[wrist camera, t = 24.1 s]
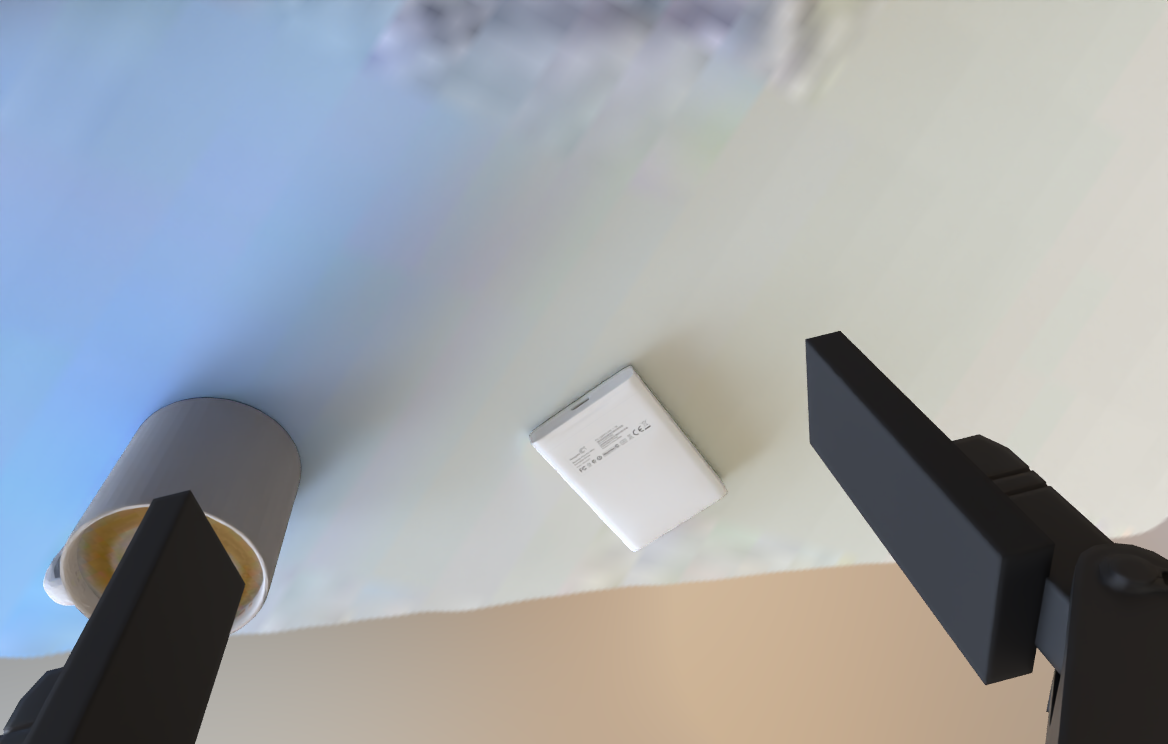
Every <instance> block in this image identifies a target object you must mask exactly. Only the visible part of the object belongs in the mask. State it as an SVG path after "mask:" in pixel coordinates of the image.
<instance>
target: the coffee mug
mask: <svg viewBox="0 0 1168 744" xmlns="http://www.w3.org/2000/svg"><path fill="white" fill-rule="evenodd" d="M300 478H301V462H300V456H299V454H298V451H297V448H296V446H295V444H294V442H293V441H292V439H291V438H290V436H289V435H288V434H287V432H286V431H285V430H284V429H283V428H282V427H281V426H280V425H279V424H278V423H277V422H276V421H274V420H273V419H272V418H270V417H269V416H267V415H266V414H264V413H262V412H261V411H259V410H257V409H255V408H253V407H251V406H248V405H245V404H242V403H239V402H235V401H232V400H226V399H218V398H195V399H188V400H183V401H179V402H175V403H173V404H170V405H168V406H166V407H163V408H161V409H159V410H158V411H156V412H155V413H153V414H152V415H151V416H150V417H149V418H148V419H146V420H145V421H144V422H143V424H142V425H141V426H140V428H139V429H138V431H137V432H136V434H135V435H134V437H133V438H132V440H131V441H130V443H129V445H128V446H127V448H126V449H125V451H124V452H123V454H122V455H121V457H120V458H119V460H118V462H117V463H116V465H115V466H114V468H113V469H112V471H111V472H110V474H109V476H108V477H107V479H106V480H105V482H104V483H103V485H102V486H101V488H100V490H99V491H98V493H97V494H96V496H95V497H94V499H93V500H92V502H91V504H90V505H89V507H88V508H87V510H86V511H85V513H84V514H83V516H82V518H81V519H80V521H79V522H78V524H77V525H76V527H75V528H74V530H73V532H72V533H71V535H70V536H69V538H68V540H67V542H66V544H65V546H64V547H63V548H62V549H61V550H60V552H59V553H58V554H57V555H56V556H55V558H54V559H53V561H52V562H51V564H50V566H49V568H48V569H47V571H46V574H45V578H44V581H43V585H44V589H45V591H46V593H47V594H48V595H49V597H50V598H51V599H53V600H54V601H55V602H56V603H58V604H61V605H64V606H72V605H75V607H76V608H77V609H78V610H79V611H80V612H81V613H82V614H84V615H85V616H86V617H87V618H88V619H89V618H90V617H91V615H92V613H93V611H94V609H95V607H96V605H97V603H98V602H99V600H100V598H101V596H102V594H103V592H104V590H105V588H106V587H107V585H108V583H109V581H110V579H111V577H112V575H113V573H114V572H115V570H116V568H117V566H118V564H119V562H120V560H121V558H122V557H123V555H124V553H125V551H126V549H127V547H128V545H129V543H130V542H131V540H132V538H133V536H134V534H135V532H136V530H137V528H138V527H139V525H140V523H141V521H142V519H143V517H144V515H145V513H146V512H147V510H148V508H149V506H150V504H151V502H152V500H153V499H155V498H159V497H163V496H167V495H171V494H175V493H179V492H183V491H188V490H191V492H192V493H193V495H194V497H195V498H196V500H197V502H198V504H199V505H200V507H201V509H202V510H203V512H204V514H205V516H206V517H207V519H208V521H209V522H210V524H211V526H212V528H213V529H214V531H215V533H216V534H217V536H218V538H219V540H220V541H221V543H222V545H223V546H224V548H225V550H226V552H227V553H228V555H229V557H230V558H231V560H232V562H233V563H234V565H235V567H236V569H237V570H238V572H239V574H240V575H241V577H242V579H243V581H244V582H245V584H246V585H245V588H244V591H243V594H242V597H241V600H240V603H239V607H238V610H237V613H236V616H235V619H234V622H233V625H232V629H231V632H230V634H232V633H234V632H236V631H238V630H239V629H241V628H242V627H244V626H245V625H246V624H247V623H248V622H250V621H251V620H252V619H253V618H254V617H255V616H256V614H257V613H258V612H259V611H260V609H261V608H262V606H263V604H264V602H265V600H266V598H267V595H268V592H269V589H270V585H271V582H272V578H273V575H274V571H275V568H276V564H277V560H278V557H279V553H280V550H281V546H282V543H283V539H284V536H285V532H286V529H287V525H288V521H289V518H290V514H291V511H292V507H293V504H294V500H295V497H296V493H297V489H298V486H299V482H300Z"/></svg>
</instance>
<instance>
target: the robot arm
mask: <svg viewBox="0 0 1168 744" xmlns="http://www.w3.org/2000/svg"><path fill="white" fill-rule="evenodd" d="M805 341H806V364H807V388H808V411H809V434H810V444H811V445H812V447H813V448H814V449H815V451H816V452H817V454H818V455H819V456H820V458H821V459H822V460H823V462H824V463H825V465H826V466H827V467H828V469H829V470H830V472H831V473H832V474H833V476H834V477H835V478H836V480H837V481H838V483H839V484H840V485H841V487H842V488H843V489H844V491H845V492H846V494H847V495H848V496H849V498H850V499H851V500H852V502H853V503H854V505H855V506H856V507H857V509H858V510H859V512H860V513H861V514H862V516H863V517H864V518H865V520H866V521H867V523H868V524H869V525H870V527H871V528H872V529H873V531H874V532H875V534H876V535H877V536H878V538H879V539H880V541H881V542H882V543H883V545H884V546H885V547H886V549H887V550H888V552H889V553H890V554H891V556H892V557H893V558H894V560H895V561H896V563H897V564H898V565H899V567H900V568H901V570H902V571H903V572H904V574H905V575H906V576H907V578H908V579H909V580H910V582H911V583H912V585H913V586H914V587H915V589H916V590H917V592H918V593H919V594H920V596H921V597H922V599H923V600H924V601H925V603H926V604H927V605H928V607H929V608H930V610H931V611H932V612H933V614H934V615H935V616H936V618H937V619H938V621H939V622H940V623H941V625H942V626H943V628H944V629H945V630H946V632H947V633H948V634H949V636H950V637H951V638H952V640H953V641H954V643H955V644H956V645H957V647H958V648H959V650H960V651H961V652H962V653H963V655H964V657H966V659H967V660H968V662H969V663H970V665H971V666H972V668H973V669H974V670H975V671H976V673H977V674H978V676H979V677H980V678H981V680H982V681H983V683H984V684H985V685H988V684H992V683H996V682H999V681H1003V680H1006V679H1011V678H1014V677H1018V676H1022V675H1026V674H1029V673H1032V671H1033V665H1034V660H1035V654H1036V648H1038V649H1039V650H1040V651H1041V652H1042V654H1043V655H1044V656H1045V657H1046V659H1047V660H1048V661H1049V662H1050V663H1051V664H1052V666H1053V667H1054V668H1055V671H1054V676H1053V681H1052V686H1051V691H1050V696H1049V701H1048V706H1047V711H1046V712H1049V716H1048V726H1047V734H1046V743H1045V744H1168V560H1167V559H1165V558H1164V557H1162V556H1160V555H1159V554H1157V553H1155V552H1153V551H1150V550H1147V549H1144V548H1141V547H1137V546H1134V545H1128V544H1118V543H1114V542H1112V541H1111V540H1110V539H1109V538H1108V537H1107V536H1106V535H1104V534H1103V533H1102V532H1101V531H1100V530H1099V529H1098V528H1097V527H1096V526H1094V525H1093V524H1092V523H1091V522H1090V521H1089V520H1088V519H1087V518H1086V517H1084V516H1083V515H1082V514H1081V513H1080V512H1079V511H1078V510H1077V509H1076V508H1074V507H1073V506H1072V505H1071V504H1070V503H1069V502H1068V501H1067V500H1066V499H1064V498H1063V497H1062V496H1061V495H1060V494H1059V493H1058V492H1057V491H1056V490H1054V489H1053V488H1052V487H1051V486H1047V485H1046V481H1044V480H1043V479H1042V478H1041V477H1040V476H1039V475H1038V474H1037V473H1036V472H1034V471H1033V470H1032V471H1030V469H1029V466H1028V465H1027V464H1026V463H1024V462H1023V461H1022V460H1021V459H1020V458H1019V457H1018V456H1017V455H1016V454H1014V453H1013V452H1012V451H1011V450H1010V449H1009V448H1007V447H1005V446H1003V445H1001V444H999V443H997V442H994V441H992V440H990V439H988V438H986V437H984V436H982V435H975V436H971V437H967V438H963V439H959V440H955V441H951V440H950V439H949V438H948V437H947V436H946V435H945V434H944V433H943V432H942V431H941V430H940V429H939V428H938V427H937V426H936V425H935V424H934V423H933V422H932V421H931V420H930V419H929V418H928V417H927V416H926V415H925V414H924V413H923V412H922V411H921V410H920V409H919V408H918V407H917V406H916V405H915V404H914V403H913V402H912V401H911V400H910V399H909V398H908V397H907V396H906V395H904V394H903V393H902V392H901V391H900V390H899V389H898V388H897V387H896V386H895V385H894V384H893V383H892V382H891V381H890V380H889V379H888V378H887V377H886V376H885V375H884V374H883V373H882V372H881V371H880V370H879V369H878V368H877V367H876V366H875V365H874V364H873V363H872V362H871V361H870V360H869V359H868V358H867V357H866V356H865V355H864V354H863V353H862V352H861V351H860V350H859V349H858V348H857V347H856V346H855V345H854V344H853V343H852V342H851V341H850V340H849V339H848V338H847V337H846V336H845V335H844V334H843V333H842V332H841V331H838V332H834V333H829V334H825V335H821V336H817V337H813V338H809V339H805ZM245 585H246V584H245V582H244V581H243V579H242V577H241V575H240V574H239V572H238V570H237V569H236V567H235V565H234V563H233V562H232V560H231V558H230V557H229V555H228V553H227V552H226V550H225V548H224V546H223V545H222V543H221V541H220V540H219V538H218V536H217V534H216V533H215V531H214V529H213V528H212V526H211V524H210V522H209V521H208V519H207V517H206V516H205V514H204V512H203V510H202V509H201V507H200V505H199V504H198V502H197V500H196V498H195V497H194V495H193V493H192V492H191V490H188V491H183V492H179V493H175V494H171V495H167V496H163V497H159V498H155V499H153V500H152V502H151V504H150V506H149V508H148V510H147V512H146V513H145V515H144V517H143V519H142V521H141V523H140V525H139V527H138V528H137V530H136V532H135V534H134V536H133V538H132V540H131V542H130V543H129V545H128V547H127V549H126V551H125V553H124V555H123V557H122V558H121V560H120V562H119V564H118V566H117V568H116V570H115V572H114V573H113V575H112V577H111V579H110V581H109V583H108V585H107V587H106V588H105V590H104V592H103V594H102V596H101V598H100V600H99V602H98V603H97V605H96V607H95V609H94V611H93V613H92V615H91V617H90V618H89V620H88V622H87V624H86V626H85V628H84V630H83V631H82V633H81V635H80V637H79V639H78V641H77V643H76V645H75V646H74V648H73V650H72V652H71V654H70V656H69V658H68V660H67V662H66V664H65V665H64V667H62V668H58V669H54V670H50V671H47V672H46V673H45V674H44V675H43V676H42V677H41V678H40V679H39V680H38V681H37V683H35V685H34V686H33V687H32V688H31V689H30V690H29V691H28V692H27V693H26V694H25V695H24V696H23V698H22V699H21V700H20V701H19V703H18V705H17V706H16V708H15V710H14V712H13V714H12V715H11V717H10V719H9V721H8V722H7V724H6V726H5V728H4V735H0V744H195V741H196V739H197V735H198V732H199V729H200V726H201V723H202V720H203V716H204V713H205V710H206V707H207V704H208V701H209V698H210V694H211V691H212V688H213V685H214V682H215V679H216V676H217V672H218V669H219V666H220V663H221V660H222V657H223V654H224V650H225V647H226V644H227V641H228V638H229V635H230V632H231V629H232V625H233V622H234V619H235V616H236V613H237V610H238V607H239V603H240V600H241V597H242V594H243V591H244V588H245Z"/></svg>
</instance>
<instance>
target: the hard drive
mask: <svg viewBox="0 0 1168 744" xmlns="http://www.w3.org/2000/svg"><path fill="white" fill-rule="evenodd" d="M530 440H531V444H532V445H533V446H534V447H535V448H536V450H537V451H538V452H539V453H540V454H541V455H542V456H543V457H544V458H545V459H546V460H547V461H548V462H549V463H550V465H551V466H552V467H553V468H554V469H555V470H556V471H557V472H558V473H559V474H560V475H561V476H562V477H563V478H564V480H565V481H566V482H567V483H568V484H569V485H570V486H571V487H572V488H573V489H574V490H575V491H576V492H577V493H578V494H579V495H580V496H581V498H582V499H583V500H584V501H585V502H586V503H587V504H588V505H589V506H590V507H591V508H592V509H593V510H594V511H595V512H596V513H597V514H598V516H599V517H600V518H601V519H602V520H603V521H604V522H605V523H606V524H607V525H608V526H609V527H610V528H611V529H612V530H613V531H614V532H615V533H616V534H617V535H618V536H619V537H620V539H621V540H622V541H623V542H624V543H625V544H626V545H627V546H628V547H629V548H630V549H631V550H632V551H634V552H635V551H638V550H640V549H642V548H643V547H645V546H646V545H648V544H650V543H651V542H653V541H655V540H656V539H658V538H659V537H661V536H663V535H664V534H666V533H667V532H669V531H670V530H672V529H674V528H675V527H677V526H678V525H680V524H682V523H683V522H685V521H686V520H688V519H690V518H691V517H693V516H694V515H696V514H698V513H699V512H701V511H703V510H704V509H705V508H707V507H709V506H710V505H712V504H714V503H715V502H717V501H718V500H720V499H721V498H722V497H724V496H725V495H726V494H727V489H726V487H725V485H724V483H723V482H722V480H721V479H720V478H719V477H718V475H717V474H716V473H715V472H714V470H713V469H712V468H711V467H710V465H709V464H708V463H707V462H706V460H705V459H704V458H703V457H702V455H701V454H700V453H699V451H698V450H697V449H696V448H695V446H694V445H693V444H692V443H691V441H690V440H689V439H688V438H687V436H686V435H685V434H684V433H683V431H682V430H681V429H680V427H679V426H678V425H677V424H676V422H675V421H674V420H673V419H672V417H671V416H670V415H669V413H668V412H667V411H666V410H665V408H664V407H663V406H662V405H661V403H660V402H659V401H658V400H657V398H656V397H655V396H654V395H653V393H652V392H651V391H650V390H649V388H648V387H647V386H646V385H645V383H644V382H643V381H642V379H641V378H640V376H639V375H638V374H637V373H636V371H635V370H634V369H633V367H632V366H629V367H626V368H624V369H622V370H621V371H619V372H618V373H616V374H615V375H613V376H612V377H611V378H609V379H607V380H606V381H605V382H603V383H602V384H600V385H599V386H597V387H596V388H594V389H593V390H591V391H590V392H588V393H587V394H585V395H584V396H583V397H581V398H580V399H578V400H577V401H575V402H574V403H572V404H571V405H569V406H568V407H566V408H565V409H563V410H562V411H561V412H559V413H558V414H556V415H555V416H553V417H552V418H550V419H549V420H548V421H546V422H545V423H543V424H542V425H540V426H539V427H537V428H536V429H535V430H534V431H533V432H532V433H531V434H530Z"/></svg>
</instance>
